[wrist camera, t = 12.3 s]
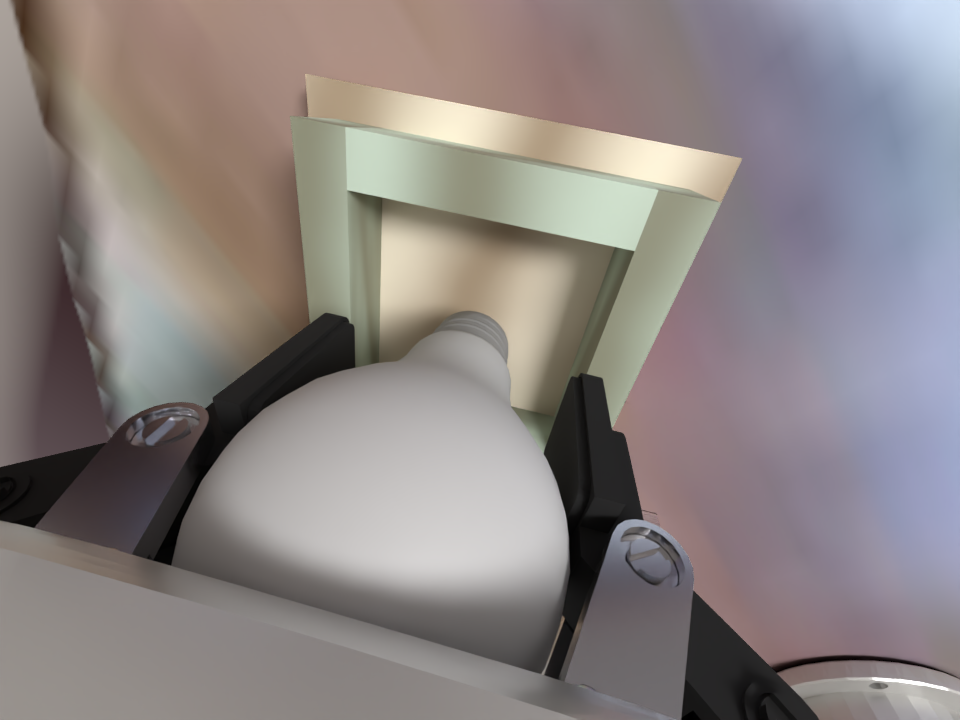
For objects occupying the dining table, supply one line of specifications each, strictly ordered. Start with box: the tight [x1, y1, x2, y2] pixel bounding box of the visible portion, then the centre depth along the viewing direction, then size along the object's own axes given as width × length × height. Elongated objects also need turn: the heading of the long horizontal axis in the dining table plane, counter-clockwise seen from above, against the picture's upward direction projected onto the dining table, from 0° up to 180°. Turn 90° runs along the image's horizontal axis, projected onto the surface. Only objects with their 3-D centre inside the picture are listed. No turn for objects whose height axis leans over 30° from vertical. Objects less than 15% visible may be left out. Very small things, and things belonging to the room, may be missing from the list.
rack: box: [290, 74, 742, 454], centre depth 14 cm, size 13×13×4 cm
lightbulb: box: [171, 311, 570, 674], centre depth 9 cm, size 6×6×11 cm
